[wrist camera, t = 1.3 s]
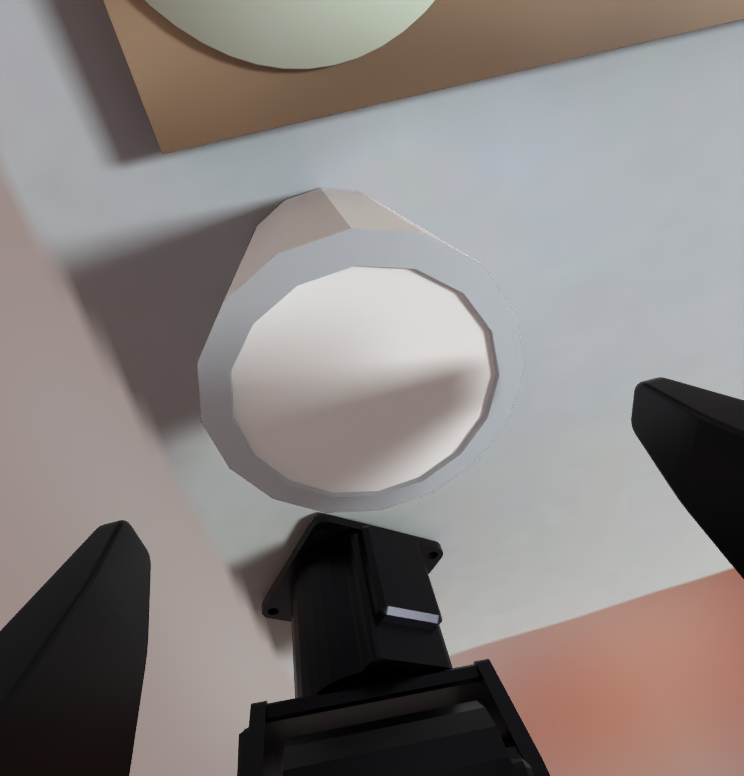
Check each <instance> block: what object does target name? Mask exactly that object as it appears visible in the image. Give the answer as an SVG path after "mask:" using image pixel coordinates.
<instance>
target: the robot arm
mask: <svg viewBox="0 0 744 776" xmlns="http://www.w3.org/2000/svg"><path fill="white" fill-rule="evenodd" d="M631 422H632V427H633V430H634V432H635V434H636V436H637V437H638V439H639V440H640V442H641V443H642V445H643V446H644V448H645V449H646V451H647V452H648V454H649V455H650V457H651V458H652V460H653V462H654V463H655V465H656V466H657V468H658V469H659V471H660V472H661V474H662V475H663V477H664V478H665V480H666V481H667V483H668V484H669V486H670V487H671V489H672V490H673V492H674V493H675V495H676V496H677V498H678V499H679V500H680V502H681V503H682V504H683V506H684V507H685V508H686V509H687V511H688V512H689V513H690V515H691V516H692V517H693V518H694V519H695V521H696V522H697V523H698V524H699V526H700V527H701V528H702V529H703V530H704V532H705V533H706V534H707V535H708V536H709V538H710V539H711V540H712V541H713V543H714V544H715V545H716V546H717V547H718V549H719V550H720V551H721V552H722V554H723V555H724V556H725V557H726V558H727V560H728V561H729V562H730V563H731V564H732V566H733V567H734V568H735V569H736V571H737V572H738V573H739V574H740V575H741V577H742V578H743V579H744V400H740V399H737V398H733V397H730V396H726V395H723V394H719V393H716V392H712V391H709V390H705V389H702V388H698V387H695V386H691V385H688V384H684V383H681V382H677V381H674V380H670V379H666V378H661V377H660V378H654V379H651V380H647V381H643V382H640V383H639V384H637V386H636V388H635V391H634V400H633V408H632V417H631ZM321 526H326V527H321ZM442 556H443V551H442V548H441V546H440V544H439V543H438V542H435V541H431V540H427V539H423V538H419V537H415V536H411V535H407V534H403V533H399V532H395V531H391V530H387V529H383V528H379V527H375V526H371V525H367V524H363V523H359V522H355V521H351V520H347V519H343V518H339V517H335V516H331V515H325V514H323V515H319V516H317V517H315V518H314V519H313V520H312V522H311V524H310V525H309V527H308V529H307V530H306V532H305V533H304V535H303V537H302V538H301V540H300V542H299V543H298V545H297V547H296V548H295V550H294V552H293V553H292V555H291V557H290V558H289V560H288V561H287V563H286V565H285V566H284V568H283V570H282V571H281V573H280V575H279V576H278V578H277V580H276V581H275V583H274V585H273V586H272V588H271V589H270V591H269V593H268V594H267V596H266V598H265V599H264V601H263V603H262V614H263V615H264V616H265V617H267V618H272V619H278V620H285V621H291V622H292V641H293V662H294V683H295V699H290V700H285V701H279V702H274V703H269V704H268V703H267V701H264V702H258V703H253V704H251V710H250V721H249V727H248V728H247V729H245V730H244V731H243V732H242V733H241V734H239V748H238V772H237V776H550V774H549V772H548V770H547V768H546V766H545V764H544V762H543V759H542V757H541V756H540V754H539V752H538V750H537V748H536V746H535V744H534V742H533V741H532V739H531V737H530V735H529V733H528V731H527V729H526V727H525V726H524V724H523V722H522V720H521V718H520V716H519V715H518V713H517V711H516V709H515V707H514V705H513V703H512V701H511V700H510V697H509V696H508V694H507V692H506V690H505V688H504V686H503V684H502V683H501V681H500V679H499V677H498V675H497V674H496V671H495V670H494V667H493V666H492V664H491V662H490V660H489V659H485V660H480V661H475V662H474V664H473V665H469V666H463V667H457V668H452V664H451V661H450V658H449V655H448V652H447V648H446V645H445V642H444V639H443V636H442V632H441V629H440V626H439V624H440V623H441V622H442V616H441V613H440V610H439V607H438V604H437V601H436V598H435V595H434V592H433V588H432V585H431V582H430V579H429V576H428V574H429V573H430V572H431V570H432V569H433V568H434V567H435V565H436V564H437V563H438V561H439V560H440V559H441V558H442ZM150 563H151V562H150V556H149V553H148V551H147V549H146V548H145V546H144V544H143V543H142V541H141V540H140V538H139V537H138V536H137V534H136V532H135V531H134V529H133V528H132V526H131V525H130V524H129V523H128V522H127V521H124V520H121V521H117V522H113V523H109V524H105V525H102V526H100V527H98V528H97V529H96V530H95V531H94V532H93V533H92V534H91V536H90V537H88V539H87V540H86V541H85V542H84V543H83V544H82V545H81V546H80V547H79V548H78V549H77V550H76V551H75V552H74V553H73V554H72V556H71V557H70V558H69V559H68V560H67V561H66V562H65V563H64V564H63V565H62V566H61V567H60V568H59V570H57V571H56V573H55V574H54V575H53V576H52V577H51V578H50V579H49V580H48V581H47V582H46V583H45V584H44V586H42V587H41V589H40V590H39V591H38V592H37V593H36V594H35V595H34V596H33V597H32V598H31V599H30V600H29V601H28V602H27V603H26V604H25V605H24V607H23V608H22V609H21V610H20V611H19V612H18V613H17V614H16V615H15V616H14V617H13V618H12V620H10V621H9V622H8V624H7V625H6V626H5V627H4V628H3V629H2V630H1V631H0V776H129V773H130V765H131V759H132V753H133V746H134V739H135V732H136V726H137V719H138V711H139V705H140V698H141V691H142V685H143V678H144V671H145V664H146V657H147V645H148V625H149V597H150V596H149V595H150V569H151V564H150Z"/></svg>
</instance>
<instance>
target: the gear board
mask: <svg viewBox="0 0 744 776" xmlns="http://www.w3.org/2000/svg"><path fill="white" fill-rule="evenodd" d="M103 1H104V4H105V6H106V9H107V11H108V14H109V17H110V19H111V22H112V24H113V27H114V30H115V32H116V35H117V37H118V40H119V43H120V45H121V48H122V50H123V53H124V56H125V58H126V61H127V63H128V66H129V69H130V71H131V74H132V76H133V79H134V82H135V84H136V87H137V89H138V92H139V95H140V97H141V100H142V102H143V105H144V108H145V110H146V113H147V116H148V118H149V121H150V123H151V126H152V129H153V131H154V134H155V136H156V139H157V142H158V144H159V147H160V149H161V152H162V154H165V153H170V152H174V151H178V150H182V149H187V148H191V147H195V146H200V145H204V144H208V143H213V142H217V141H221V140H225V139H230V138H234V137H238V136H243V135H247V134H251V133H255V132H260V131H264V130H268V129H273V128H277V127H281V126H286V125H290V124H294V123H298V122H303V121H307V120H311V119H316V118H320V117H324V116H328V115H333V114H337V113H341V112H346V111H350V110H354V109H359V108H363V107H367V106H371V105H376V104H380V103H384V102H389V101H393V100H397V99H401V98H406V97H410V96H414V95H419V94H423V93H427V92H432V91H436V90H440V89H444V88H449V87H453V86H457V85H462V84H466V83H470V82H475V81H479V80H483V79H487V78H492V77H496V76H500V75H505V74H509V73H513V72H517V71H522V70H526V69H530V68H535V67H539V66H543V65H548V64H552V63H556V62H560V61H565V60H569V59H573V58H578V57H582V56H586V55H590V54H595V53H599V52H603V51H608V50H612V49H616V48H621V47H625V46H629V45H633V44H638V43H642V42H646V41H651V40H655V39H659V38H663V37H668V36H672V35H676V34H681V33H685V32H689V31H694V30H698V29H702V28H706V27H711V26H715V25H719V24H724V23H728V22H732V21H736V20H741V19H744V0H103Z"/></svg>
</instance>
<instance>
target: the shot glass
mask: <svg viewBox="0 0 744 776" xmlns="http://www.w3.org/2000/svg"><path fill="white" fill-rule="evenodd" d="M524 368H525V367H524V359H523V351H522V344H521V336H520V328H519V321H518V314H517V312H516V311H515V309H514V308H513V306H512V305H511V304H510V302H509V301H508V299H507V298H506V296H505V295H504V293H503V292H502V291H501V289H500V288H499V286H498V285H497V283H496V282H495V280H494V279H493V277H492V276H491V275H490V273H489V272H488V270H487V269H486V267H485V266H484V265H483V264H481V263H479V262H478V261H476V260H474V259H473V258H471V257H469V256H468V255H466V254H464V253H463V252H461V251H459V250H458V249H456V248H454V247H453V246H451V245H449V244H448V243H446V242H444V241H443V240H441V239H439V238H438V237H436V236H434V235H433V234H431V233H429V232H428V231H426V230H424V229H423V228H421V227H419V226H418V225H416V224H414V223H413V222H411V221H409V220H408V219H406V218H404V217H403V216H401V215H399V214H398V213H396V212H394V211H393V210H391V209H389V208H388V207H386V206H384V205H382V204H380V203H378V202H377V201H375V200H373V199H371V198H369V197H368V196H366V195H364V194H362V193H360V192H358V191H352V190H340V189H328V188H319V189H316V190H313V191H310V192H307V193H304V194H301V195H298V196H295V197H292V198H289V199H286V200H284V201H283V202H282V203H281V204H280V205H279V206H278V207H277V208H276V209H275V210H273V211H272V212H271V213H270V214H269V215H268V216H267V217H266V218H265V219H264V220H263V221H262V222H260V223H259V224H258V225H257V227H256V230H255V232H254V234H253V236H252V239H251V241H250V243H249V245H248V248H247V250H246V252H245V254H244V257H243V259H242V261H241V263H240V266H239V268H238V270H237V272H236V275H235V277H234V279H233V281H232V283H231V286H230V288H229V290H228V292H227V295H226V297H225V299H224V301H223V304H222V306H221V308H220V311H219V313H218V315H217V318H216V320H215V322H214V325H213V327H212V329H211V332H210V334H209V336H208V339H207V341H206V344H205V346H204V348H203V351H202V353H201V355H200V358H199V360H198V362H197V370H198V384H199V398H200V412H201V422H202V424H203V425H204V427H205V429H206V430H207V432H208V434H209V435H210V437H211V439H212V440H213V442H214V444H215V445H216V447H217V449H218V450H219V452H220V453H221V455H222V457H223V458H224V460H225V462H226V463H227V465H228V467H229V468H230V469H231V470H233V471H234V472H236V473H237V474H238V475H240V476H241V477H243V478H244V479H246V480H247V481H248V482H250V483H251V484H253V485H254V486H256V487H257V488H258V489H260V490H261V491H263V492H264V493H266V494H267V495H269V496H270V497H271V498H273V499H276V500H279V501H283V502H287V503H291V504H295V505H298V506H302V507H306V508H310V509H314V510H317V511H321V512H325V513H330V512H352V511H373V510H382V509H385V508H388V507H391V506H394V505H397V504H400V503H403V502H406V501H409V500H412V499H415V498H418V497H421V496H424V495H426V494H429V493H432V492H434V491H435V490H436V489H438V488H439V487H441V486H442V485H444V484H445V483H447V482H448V481H449V480H451V479H452V478H454V477H455V476H457V475H458V474H459V473H461V472H462V471H464V470H465V469H467V468H468V467H469V466H471V465H472V464H474V463H475V462H477V460H478V459H479V458H480V456H481V455H482V454H483V452H484V451H485V450H486V449H487V447H488V446H489V445H490V443H491V442H492V441H493V439H494V438H495V437H496V435H497V434H498V433H499V432H500V430H501V429H502V428H503V426H504V425H505V424H506V422H507V421H508V420H509V418H510V415H511V411H512V408H513V405H514V401H515V398H516V395H517V392H518V388H519V385H520V382H521V378H522V375H523V372H524Z"/></svg>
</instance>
